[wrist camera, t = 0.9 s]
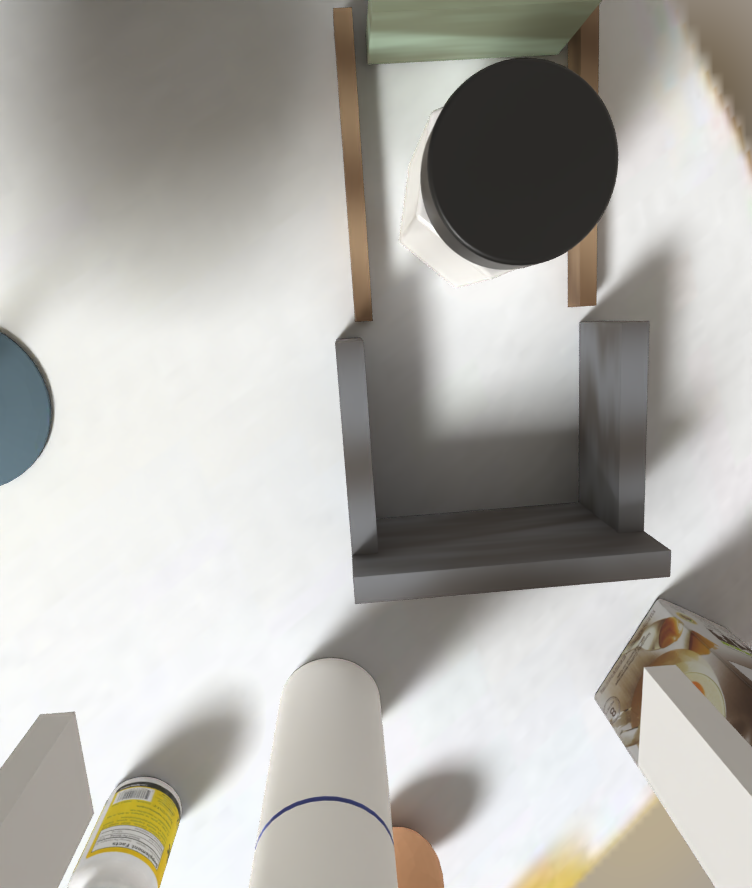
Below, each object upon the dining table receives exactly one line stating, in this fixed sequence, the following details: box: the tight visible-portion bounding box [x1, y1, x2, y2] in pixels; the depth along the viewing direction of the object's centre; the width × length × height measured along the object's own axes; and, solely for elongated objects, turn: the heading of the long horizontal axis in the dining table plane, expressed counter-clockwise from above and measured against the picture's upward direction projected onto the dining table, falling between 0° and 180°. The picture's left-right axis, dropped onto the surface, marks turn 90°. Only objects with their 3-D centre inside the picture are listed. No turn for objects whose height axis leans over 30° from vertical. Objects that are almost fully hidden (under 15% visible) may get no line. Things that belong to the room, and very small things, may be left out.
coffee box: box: [594, 599, 752, 887], centre depth 36 cm, size 9×6×16 cm
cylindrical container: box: [249, 658, 398, 888], centre depth 31 cm, size 7×7×25 cm
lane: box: [333, 5, 671, 604], centre depth 33 cm, size 31×17×9 cm, turn 4°
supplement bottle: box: [67, 777, 182, 888], centre depth 39 cm, size 5×5×10 cm
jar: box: [399, 58, 618, 288], centre depth 31 cm, size 9×8×12 cm
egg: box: [392, 827, 444, 888], centre depth 42 cm, size 6×6×8 cm
